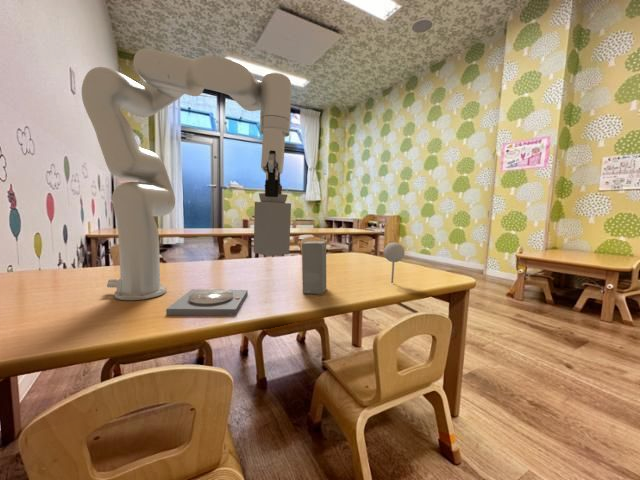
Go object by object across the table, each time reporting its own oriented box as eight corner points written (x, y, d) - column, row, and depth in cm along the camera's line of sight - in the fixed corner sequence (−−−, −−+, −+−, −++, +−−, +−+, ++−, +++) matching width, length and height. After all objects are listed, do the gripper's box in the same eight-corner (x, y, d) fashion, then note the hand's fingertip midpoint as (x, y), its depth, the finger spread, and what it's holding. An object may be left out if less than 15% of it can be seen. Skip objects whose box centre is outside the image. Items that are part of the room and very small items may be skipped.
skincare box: (322, 295, 85) (324, 243, 84) (299, 293, 87) (300, 242, 85) (327, 288, 93) (328, 240, 92) (306, 286, 95) (307, 239, 93)
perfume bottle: (289, 253, 76) (291, 186, 74) (268, 256, 71) (270, 183, 69) (273, 250, 80) (275, 186, 78) (253, 252, 76) (255, 184, 74)
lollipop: (404, 286, 99) (407, 244, 97) (384, 285, 99) (386, 243, 97) (399, 281, 106) (401, 241, 104) (380, 280, 106) (382, 240, 104)
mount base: (166, 315, 66) (166, 304, 66) (191, 294, 82) (191, 286, 82) (235, 315, 68) (235, 305, 67) (247, 294, 84) (247, 286, 83)
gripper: (264, 135, 80) (262, 197, 82) (255, 115, 63) (253, 195, 65) (290, 137, 81) (288, 199, 83) (288, 118, 64) (286, 196, 66)
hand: (273, 196), depth 74 cm, fingers closed on perfume bottle, 7 cm apart
